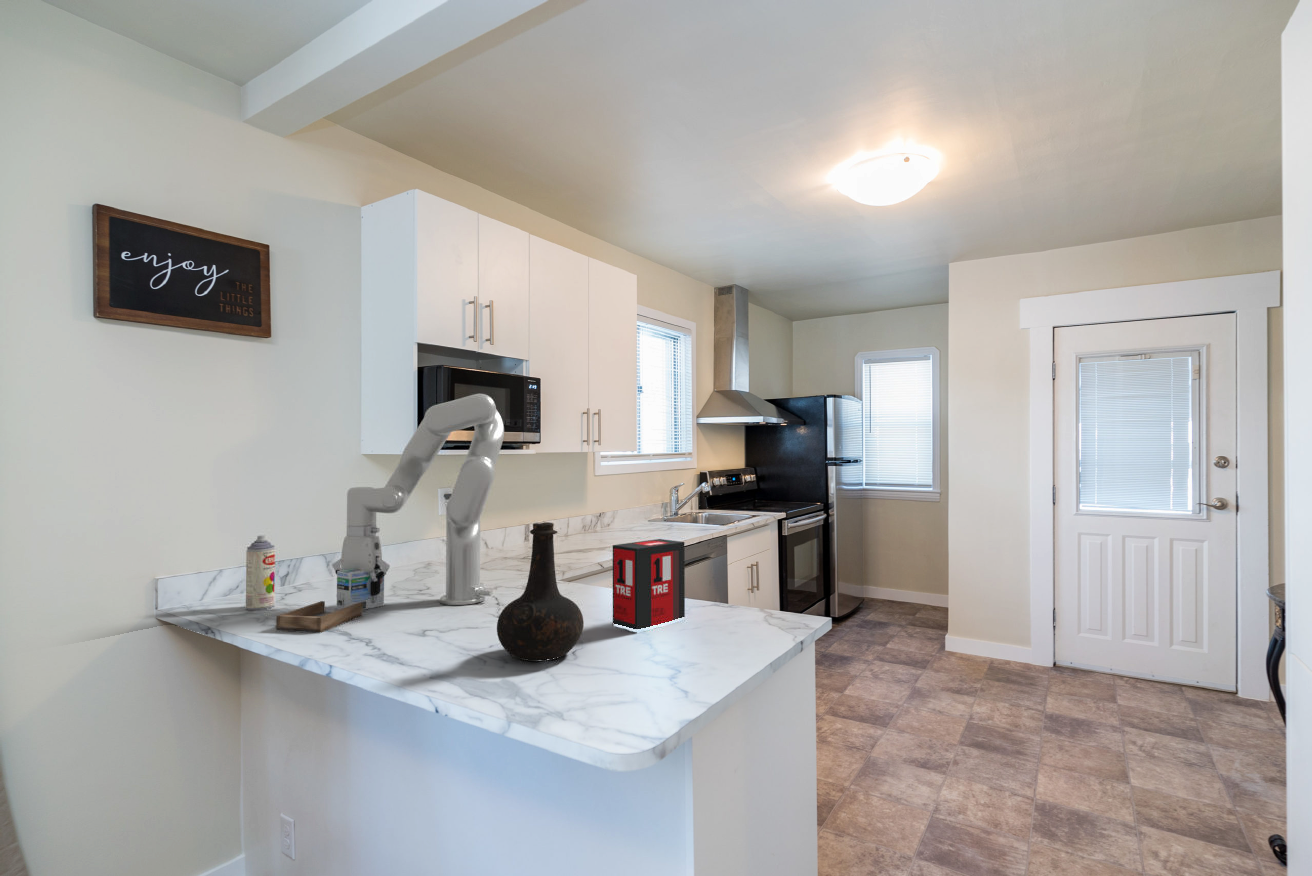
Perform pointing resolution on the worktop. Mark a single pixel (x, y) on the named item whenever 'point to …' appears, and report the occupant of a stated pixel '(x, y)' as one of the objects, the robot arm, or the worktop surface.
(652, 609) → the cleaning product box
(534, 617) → the glass bottle
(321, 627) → the tray
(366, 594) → the light bulb box
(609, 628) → the worktop surface
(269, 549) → the aerosol can
